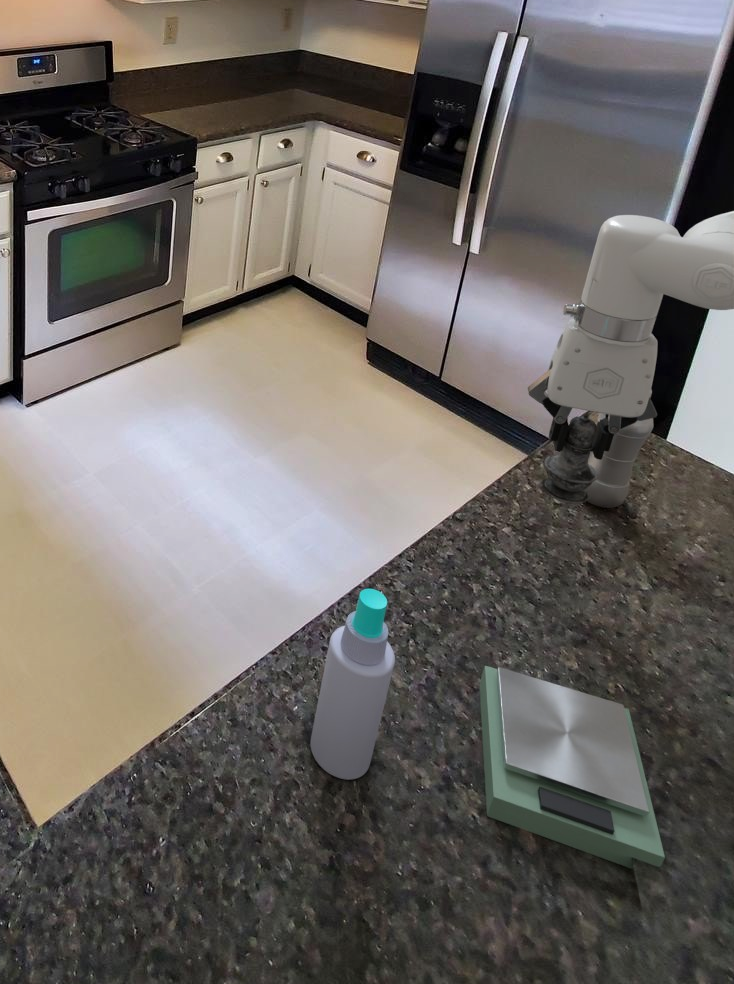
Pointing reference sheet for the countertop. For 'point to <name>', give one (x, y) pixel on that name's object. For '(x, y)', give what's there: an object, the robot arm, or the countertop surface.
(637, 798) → the scale platform
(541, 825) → the scale
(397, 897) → the countertop surface
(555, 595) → the countertop surface
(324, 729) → the spray bottle
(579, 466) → the grey chess piece
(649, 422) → the plastic bottle
